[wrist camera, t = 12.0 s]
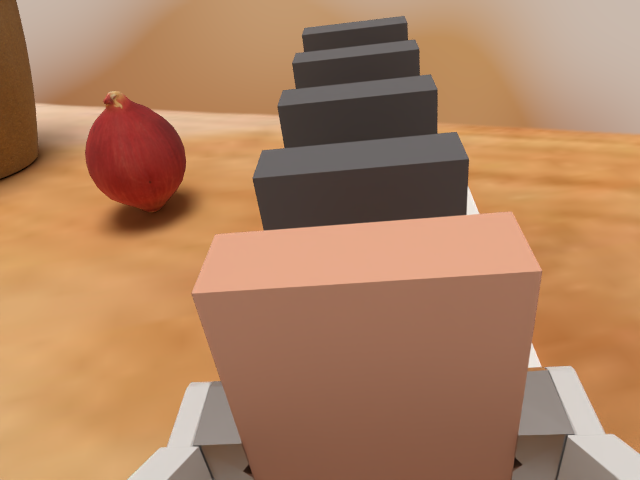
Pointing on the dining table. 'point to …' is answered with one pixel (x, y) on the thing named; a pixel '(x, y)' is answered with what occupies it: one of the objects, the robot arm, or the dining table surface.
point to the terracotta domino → (374, 346)
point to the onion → (134, 154)
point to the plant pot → (15, 95)
